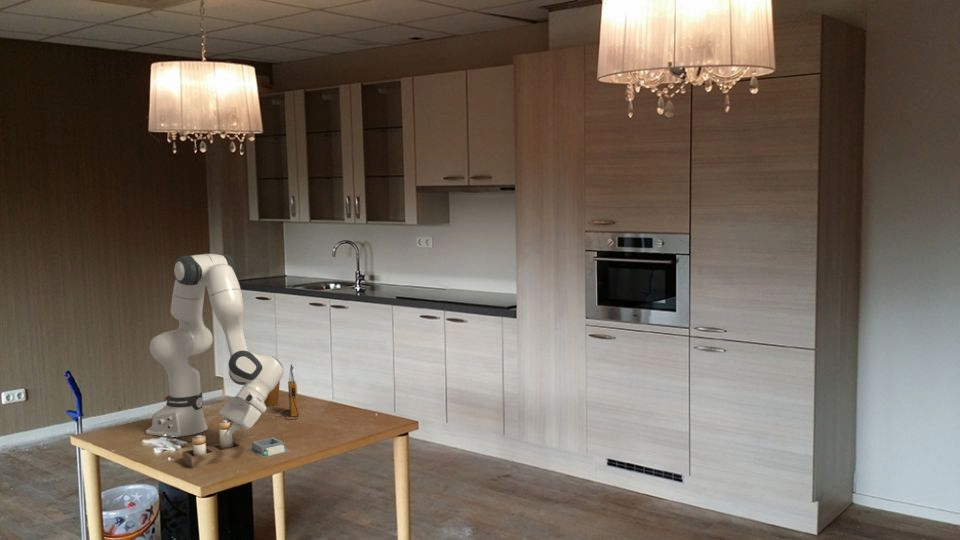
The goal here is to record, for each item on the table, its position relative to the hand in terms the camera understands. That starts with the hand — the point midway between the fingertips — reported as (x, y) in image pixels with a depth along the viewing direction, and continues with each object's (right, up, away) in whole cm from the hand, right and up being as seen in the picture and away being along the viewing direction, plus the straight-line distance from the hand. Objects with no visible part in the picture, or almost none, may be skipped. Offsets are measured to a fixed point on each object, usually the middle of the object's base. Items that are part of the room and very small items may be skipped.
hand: (223, 433), depth 283 cm
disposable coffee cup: (-2, -2, +71) cm, 71 cm away
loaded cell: (-6, -9, -4) cm, 12 cm away
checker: (+13, -8, +7) cm, 17 cm away
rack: (-3, -9, -1) cm, 10 cm away
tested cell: (+1, -5, +1) cm, 5 cm away
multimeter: (+8, -3, +52) cm, 53 cm away
